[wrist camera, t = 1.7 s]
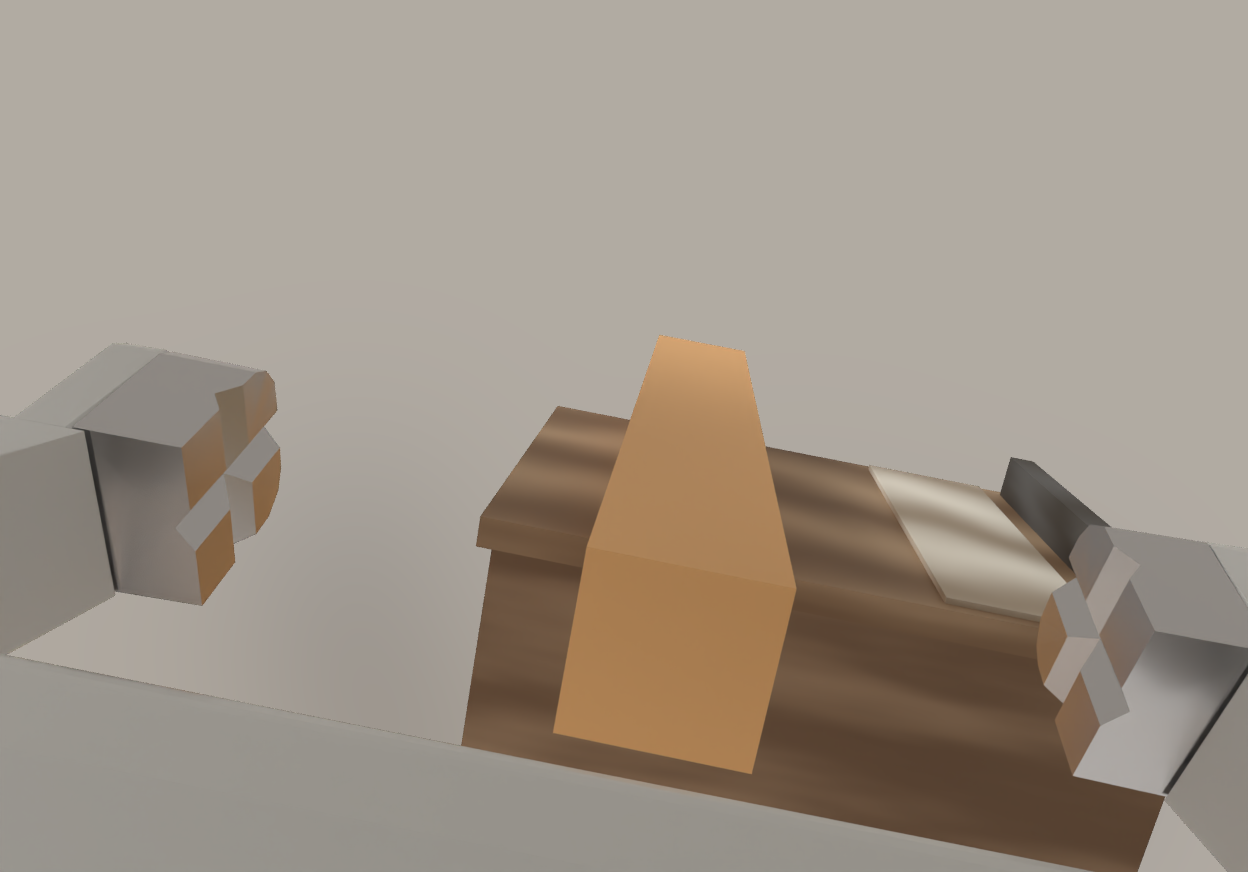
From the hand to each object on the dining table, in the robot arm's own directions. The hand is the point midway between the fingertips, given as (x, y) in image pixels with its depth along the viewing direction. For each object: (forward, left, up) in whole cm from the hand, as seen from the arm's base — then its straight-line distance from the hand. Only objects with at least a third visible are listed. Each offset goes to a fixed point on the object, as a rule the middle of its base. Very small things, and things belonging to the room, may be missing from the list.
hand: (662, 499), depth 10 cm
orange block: (-18, +12, -8) cm, 23 cm away
